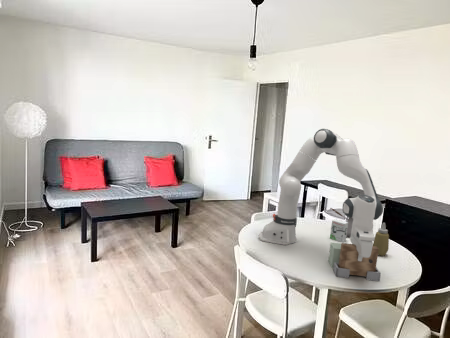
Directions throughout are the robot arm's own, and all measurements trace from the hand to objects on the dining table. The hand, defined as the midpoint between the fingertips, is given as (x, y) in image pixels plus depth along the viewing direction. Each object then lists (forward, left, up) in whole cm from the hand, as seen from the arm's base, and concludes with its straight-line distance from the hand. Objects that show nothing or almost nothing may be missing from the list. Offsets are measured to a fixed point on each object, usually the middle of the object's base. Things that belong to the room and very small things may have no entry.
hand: (357, 258), depth 155 cm
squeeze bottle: (+21, +30, -9) cm, 38 cm away
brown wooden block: (0, 0, -8) cm, 8 cm away
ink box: (+2, +47, -9) cm, 48 cm away
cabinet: (0, +5, -8) cm, 10 cm away
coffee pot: (+8, +59, -9) cm, 61 cm away
